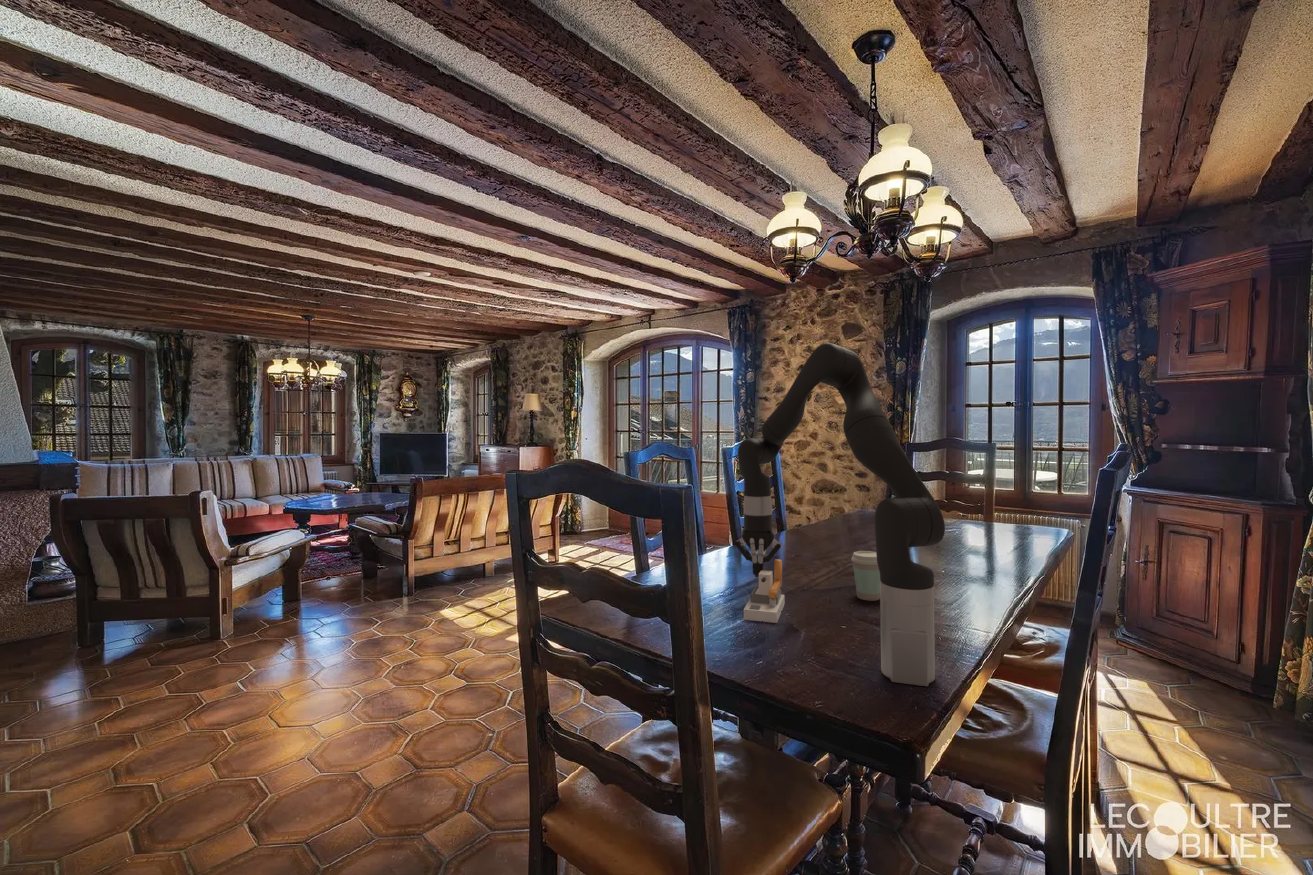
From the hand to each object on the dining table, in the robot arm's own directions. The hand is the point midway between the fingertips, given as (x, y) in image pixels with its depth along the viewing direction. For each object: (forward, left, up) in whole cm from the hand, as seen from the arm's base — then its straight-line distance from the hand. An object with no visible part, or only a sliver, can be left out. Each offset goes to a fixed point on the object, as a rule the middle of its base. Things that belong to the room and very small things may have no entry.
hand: (758, 576), depth 148 cm
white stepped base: (-7, -3, -7) cm, 10 cm away
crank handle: (-5, -5, -2) cm, 7 cm away
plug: (-5, -3, -4) cm, 7 cm away
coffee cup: (+13, -28, -7) cm, 31 cm away
